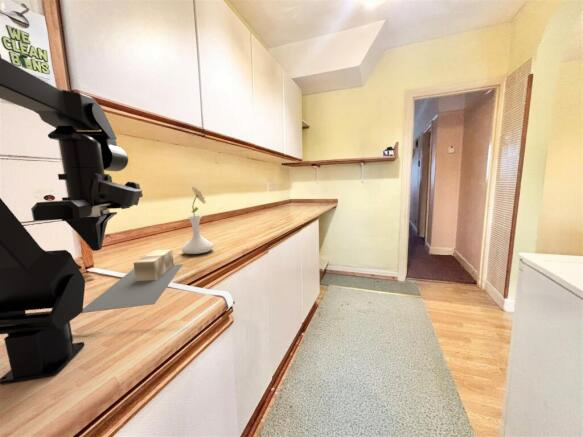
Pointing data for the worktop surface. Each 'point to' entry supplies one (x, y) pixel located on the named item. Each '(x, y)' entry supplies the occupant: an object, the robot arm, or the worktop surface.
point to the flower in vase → (196, 231)
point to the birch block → (153, 265)
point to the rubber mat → (132, 291)
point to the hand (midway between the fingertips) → (97, 250)
